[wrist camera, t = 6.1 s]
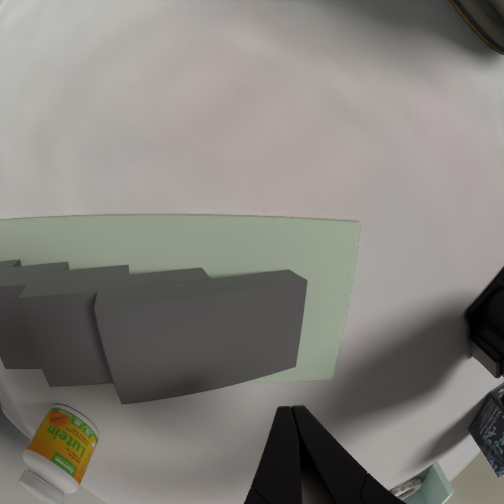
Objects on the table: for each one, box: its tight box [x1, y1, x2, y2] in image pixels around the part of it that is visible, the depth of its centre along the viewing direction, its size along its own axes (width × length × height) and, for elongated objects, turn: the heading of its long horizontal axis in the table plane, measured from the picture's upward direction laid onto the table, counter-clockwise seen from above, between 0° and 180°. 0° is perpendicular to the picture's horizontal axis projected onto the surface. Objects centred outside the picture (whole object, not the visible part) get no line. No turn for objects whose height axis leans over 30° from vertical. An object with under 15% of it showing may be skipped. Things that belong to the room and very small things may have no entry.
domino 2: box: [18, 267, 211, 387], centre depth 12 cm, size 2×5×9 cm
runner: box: [0, 214, 361, 382], centre depth 14 cm, size 30×10×1 cm, turn 88°
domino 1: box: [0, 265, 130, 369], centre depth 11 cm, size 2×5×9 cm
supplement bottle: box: [19, 405, 99, 504], centre depth 13 cm, size 5×5×10 cm
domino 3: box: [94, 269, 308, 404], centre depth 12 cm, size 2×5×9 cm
